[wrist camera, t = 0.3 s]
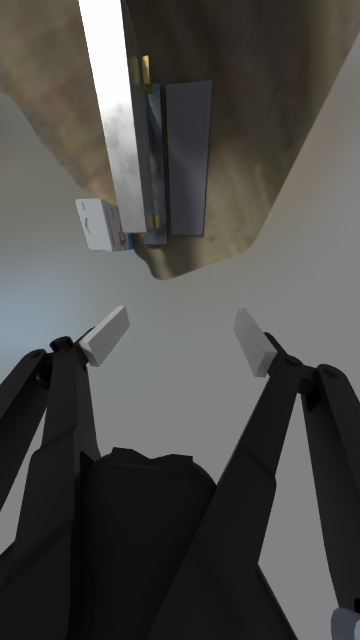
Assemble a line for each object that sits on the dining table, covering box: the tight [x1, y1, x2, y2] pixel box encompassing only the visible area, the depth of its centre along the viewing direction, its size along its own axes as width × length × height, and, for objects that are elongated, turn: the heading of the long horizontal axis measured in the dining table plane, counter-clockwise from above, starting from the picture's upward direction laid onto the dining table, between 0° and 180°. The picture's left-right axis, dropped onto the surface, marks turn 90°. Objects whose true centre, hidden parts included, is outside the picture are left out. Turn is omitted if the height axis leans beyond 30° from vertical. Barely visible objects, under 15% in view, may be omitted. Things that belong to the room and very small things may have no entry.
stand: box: [142, 56, 168, 245], centre depth 26 cm, size 24×6×10 cm, turn 0°
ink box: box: [76, 198, 133, 253], centre depth 30 cm, size 9×5×12 cm, turn 1°
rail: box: [79, 0, 156, 234], centre depth 20 cm, size 20×4×7 cm, turn 0°
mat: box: [166, 80, 213, 235], centre depth 29 cm, size 22×8×1 cm, turn 0°
